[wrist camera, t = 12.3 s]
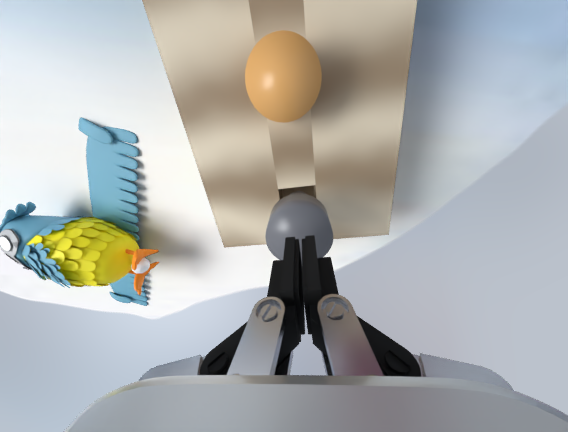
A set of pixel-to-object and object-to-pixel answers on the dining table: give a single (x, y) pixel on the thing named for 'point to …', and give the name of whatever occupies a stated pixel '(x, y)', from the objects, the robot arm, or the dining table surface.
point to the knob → (298, 224)
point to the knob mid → (283, 76)
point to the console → (299, 133)
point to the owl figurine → (88, 226)
